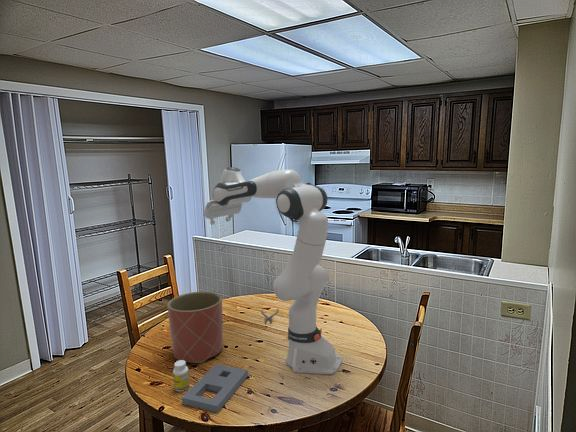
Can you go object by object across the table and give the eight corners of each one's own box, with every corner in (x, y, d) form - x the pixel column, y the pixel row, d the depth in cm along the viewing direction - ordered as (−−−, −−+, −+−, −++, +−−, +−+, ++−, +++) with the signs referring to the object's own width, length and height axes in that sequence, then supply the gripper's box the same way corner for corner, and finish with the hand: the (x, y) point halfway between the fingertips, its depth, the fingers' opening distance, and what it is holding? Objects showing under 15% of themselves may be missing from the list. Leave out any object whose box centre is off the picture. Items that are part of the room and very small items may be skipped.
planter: (203, 370, 145) (199, 314, 141) (159, 359, 154) (155, 306, 151) (234, 344, 165) (232, 294, 162) (194, 335, 175) (191, 288, 171)
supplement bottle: (171, 387, 134) (169, 363, 133) (185, 381, 138) (183, 357, 137) (178, 394, 131) (176, 368, 129) (192, 387, 134) (190, 362, 133)
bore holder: (247, 375, 140) (247, 369, 140) (217, 413, 120) (217, 406, 120) (216, 369, 145) (215, 363, 145) (182, 404, 125) (181, 397, 125)
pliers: (277, 306, 205) (283, 321, 186) (277, 308, 206) (283, 323, 186) (260, 308, 204) (264, 323, 184) (260, 310, 204) (265, 325, 184)
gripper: (211, 204, 166) (205, 229, 172) (245, 199, 181) (239, 222, 187) (204, 197, 170) (198, 222, 176) (238, 193, 184) (232, 216, 191)
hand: (219, 222), depth 182 cm, fingers open, 8 cm apart
